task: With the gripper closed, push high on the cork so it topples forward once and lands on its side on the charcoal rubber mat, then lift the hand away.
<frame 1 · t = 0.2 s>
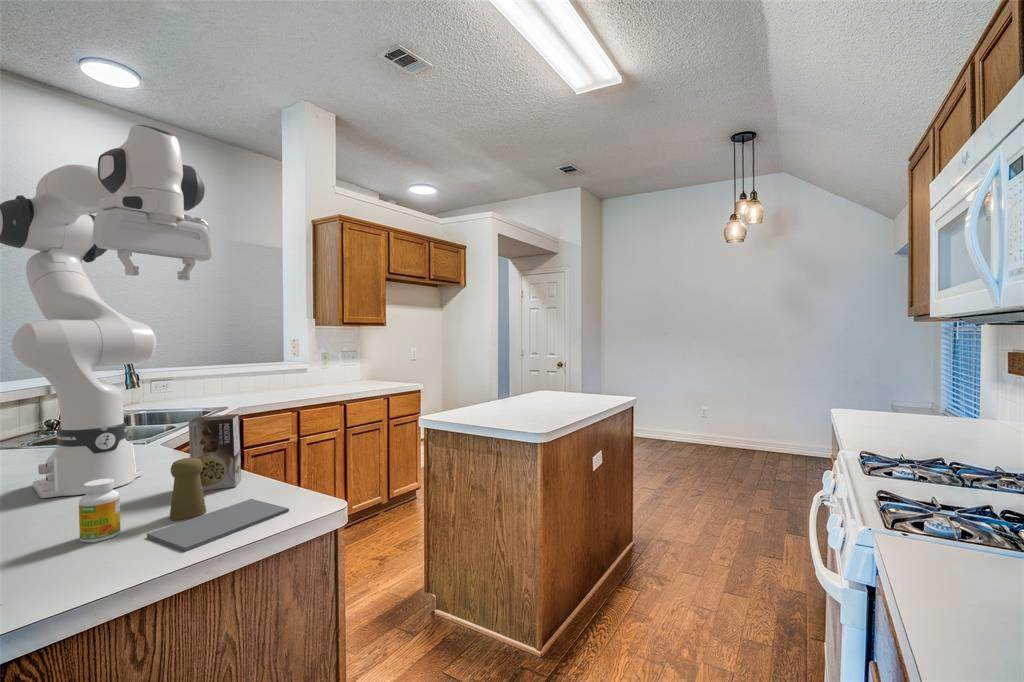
hand: (159, 277, 95), 47 cm above the counter, fingers open, 8 cm apart
rubber mat: (222, 523, 88), on the counter
cork: (188, 515, 92), on the counter
coffee box: (216, 486, 110), on the counter
supplement bottle: (100, 537, 82), on the counter
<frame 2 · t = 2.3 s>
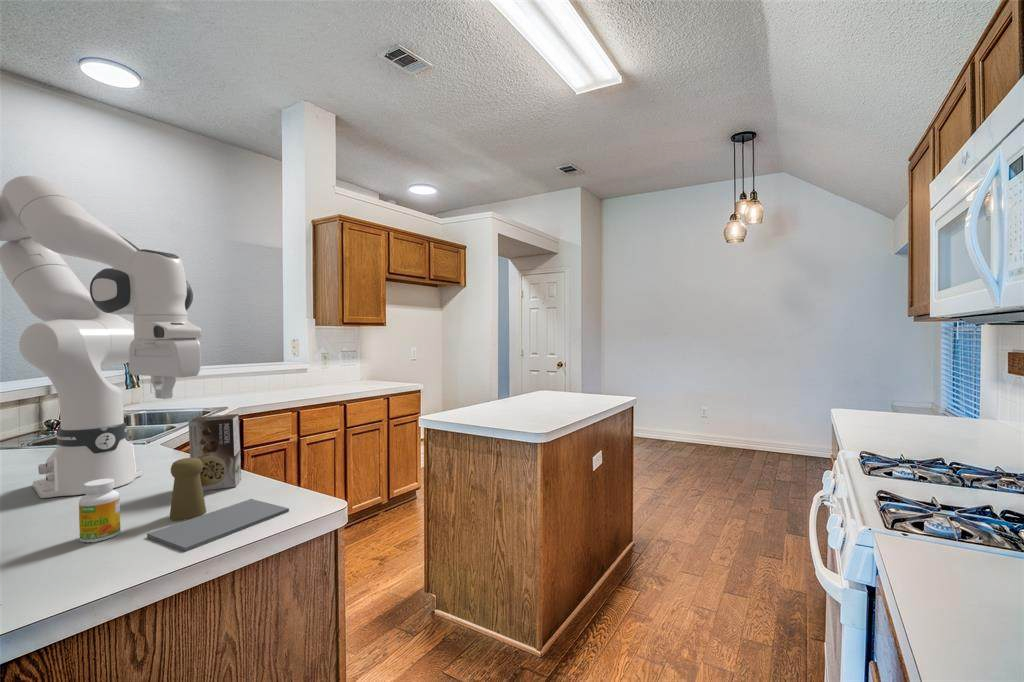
hand: (164, 398, 95), 22 cm above the counter, fingers closed
nothing on the counter moved.
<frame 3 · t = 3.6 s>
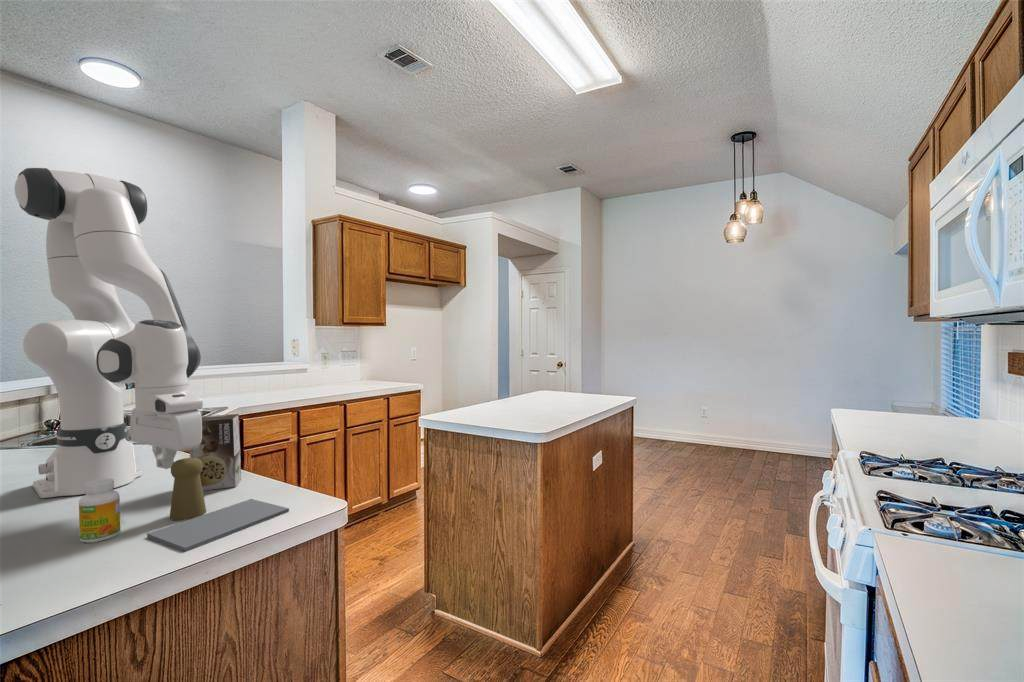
hand: (165, 467, 96), 8 cm above the counter, fingers closed
nothing on the counter moved.
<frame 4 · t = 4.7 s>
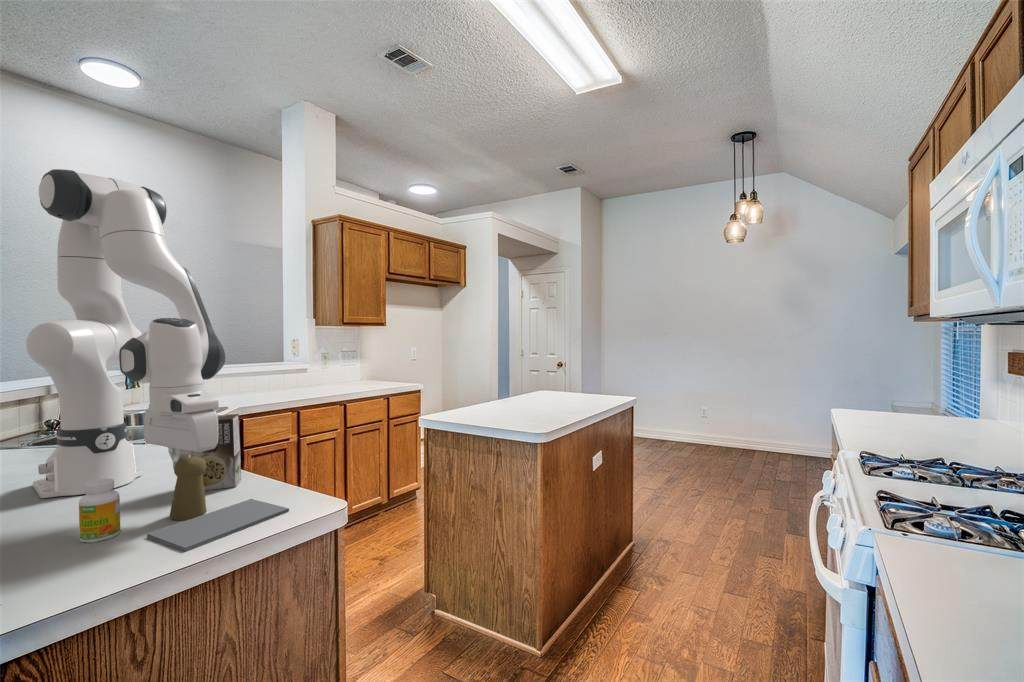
hand: (180, 469, 93), 9 cm above the counter, fingers closed
cork: (188, 514, 92), on the counter, touching gripper
everything else where it was.
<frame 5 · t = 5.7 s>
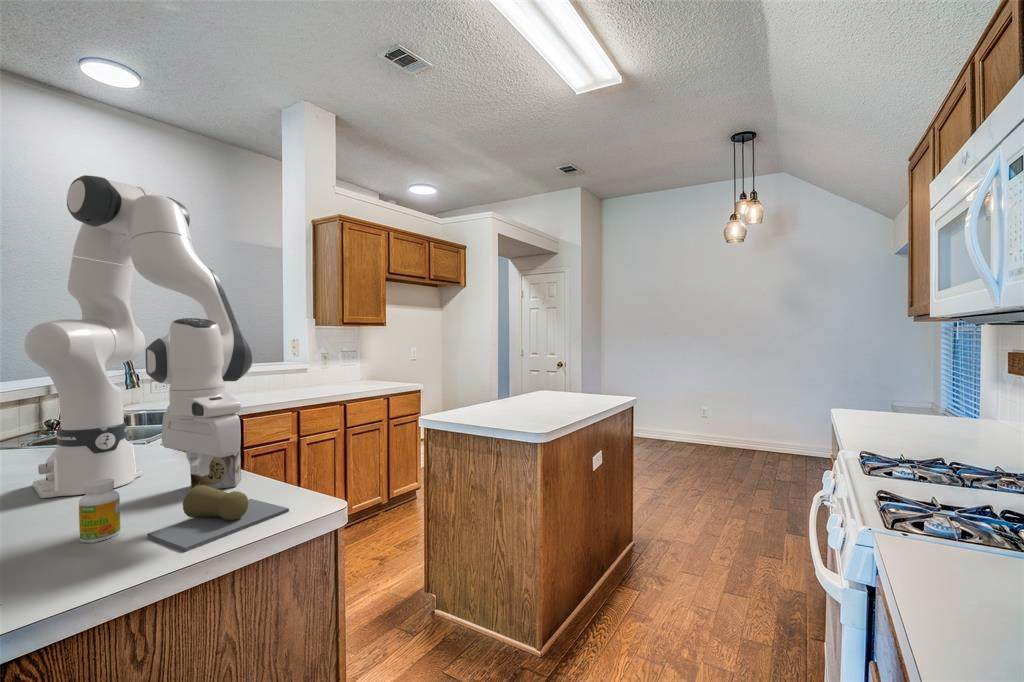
hand: (200, 474, 90), 8 cm above the counter, fingers closed
cork: (197, 501, 91), point 3 cm above the counter, touching rubber mat
everything else where it was.
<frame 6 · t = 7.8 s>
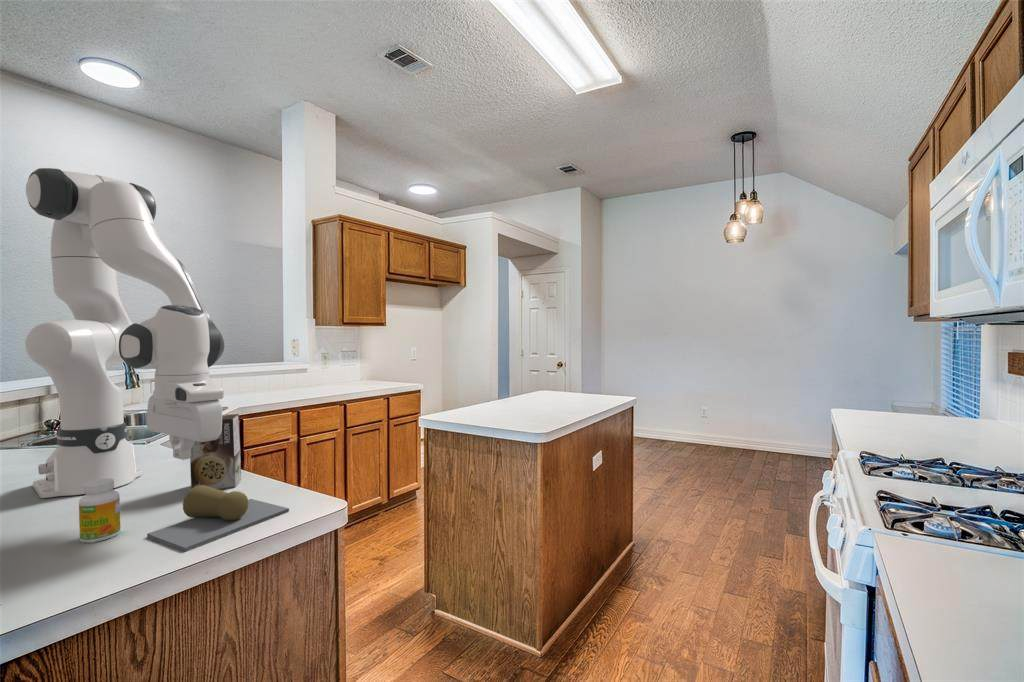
hand: (182, 458, 93), 11 cm above the counter, fingers closed
nothing on the counter moved.
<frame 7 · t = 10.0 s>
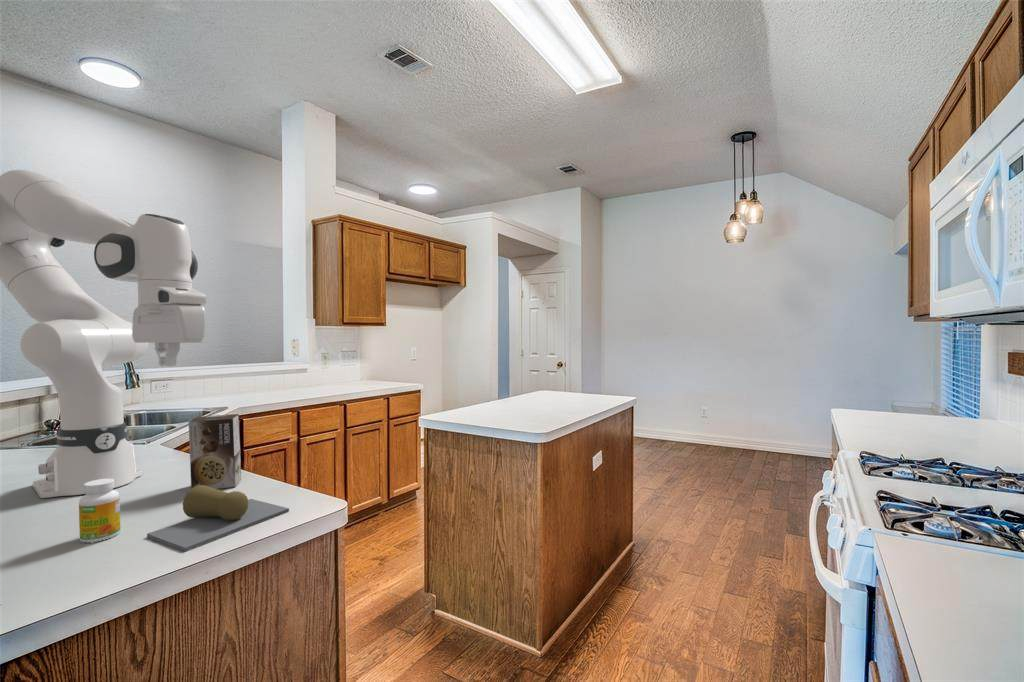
hand: (167, 365, 94), 29 cm above the counter, fingers closed
nothing on the counter moved.
at the end: cork tilted 89°; cork inside the target area (6.3 cm from its centre), point 3.0 cm above the counter; cork touching rubber mat, counter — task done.
